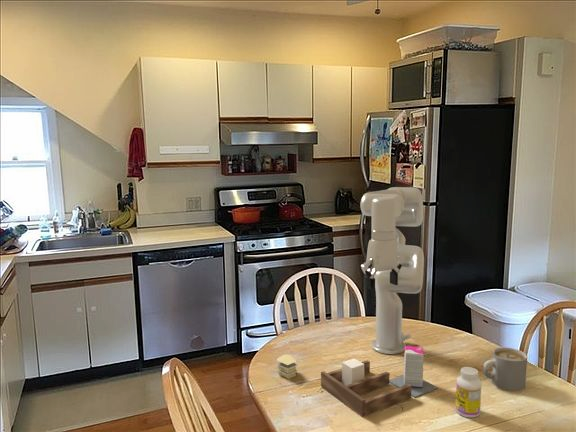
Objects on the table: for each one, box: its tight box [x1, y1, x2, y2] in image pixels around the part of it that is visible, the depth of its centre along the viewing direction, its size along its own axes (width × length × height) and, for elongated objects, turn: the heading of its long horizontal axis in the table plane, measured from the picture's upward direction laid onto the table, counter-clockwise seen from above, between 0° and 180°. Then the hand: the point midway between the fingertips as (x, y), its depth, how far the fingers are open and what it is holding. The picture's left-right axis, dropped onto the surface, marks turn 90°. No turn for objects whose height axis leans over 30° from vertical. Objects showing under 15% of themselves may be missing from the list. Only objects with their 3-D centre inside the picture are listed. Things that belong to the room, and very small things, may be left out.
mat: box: [389, 374, 439, 399], centre depth 155 cm, size 10×12×1 cm
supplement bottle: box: [455, 366, 482, 419], centre depth 138 cm, size 7×7×13 cm
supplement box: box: [403, 345, 425, 388], centre depth 154 cm, size 6×6×12 cm
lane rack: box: [320, 359, 412, 418], centre depth 150 cm, size 19×20×5 cm
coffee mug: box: [482, 346, 528, 392], centre depth 154 cm, size 13×10×10 cm
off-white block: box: [341, 358, 365, 386], centre depth 154 cm, size 5×5×8 cm
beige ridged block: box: [276, 354, 298, 380], centre depth 163 cm, size 10×9×6 cm
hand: (382, 286), depth 158 cm, fingers open, 9 cm apart
